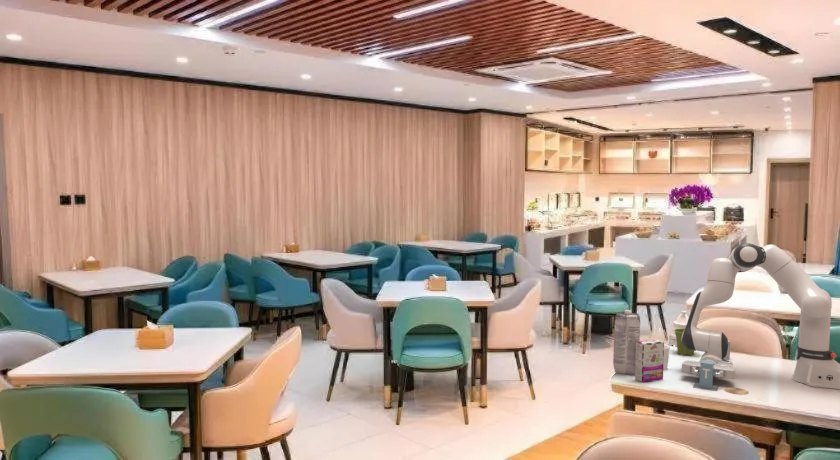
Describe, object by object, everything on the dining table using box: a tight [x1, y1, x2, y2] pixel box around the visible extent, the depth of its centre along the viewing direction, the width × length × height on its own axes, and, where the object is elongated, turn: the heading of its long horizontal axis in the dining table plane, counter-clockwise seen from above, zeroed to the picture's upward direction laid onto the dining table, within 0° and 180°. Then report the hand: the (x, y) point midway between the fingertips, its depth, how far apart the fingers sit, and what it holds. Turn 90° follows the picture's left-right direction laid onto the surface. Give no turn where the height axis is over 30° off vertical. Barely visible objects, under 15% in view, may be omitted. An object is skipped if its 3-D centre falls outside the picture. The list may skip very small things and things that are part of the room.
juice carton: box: [612, 309, 641, 376], centre depth 283 cm, size 9×10×27 cm
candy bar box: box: [634, 339, 665, 383], centre depth 273 cm, size 11×5×16 cm, turn 112°
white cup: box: [663, 344, 670, 371], centre depth 291 cm, size 8×8×10 cm
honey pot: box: [668, 310, 689, 348], centre depth 335 cm, size 13×13×18 cm
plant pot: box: [674, 329, 695, 356], centre depth 318 cm, size 12×12×11 cm
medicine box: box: [723, 340, 732, 360], centre depth 311 cm, size 8×4×9 cm, turn 84°
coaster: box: [723, 386, 750, 396], centre depth 259 cm, size 9×9×1 cm
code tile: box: [692, 381, 720, 392], centre depth 264 cm, size 9×9×1 cm
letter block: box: [699, 360, 714, 389], centre depth 264 cm, size 4×5×10 cm
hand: (706, 374), depth 264 cm, fingers open, 7 cm apart
